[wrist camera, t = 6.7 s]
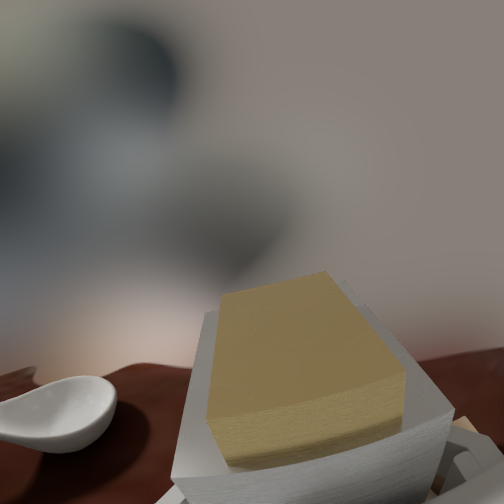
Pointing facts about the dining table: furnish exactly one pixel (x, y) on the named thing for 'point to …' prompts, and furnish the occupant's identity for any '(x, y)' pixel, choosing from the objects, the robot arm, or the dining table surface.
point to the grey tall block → (306, 404)
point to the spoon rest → (59, 415)
